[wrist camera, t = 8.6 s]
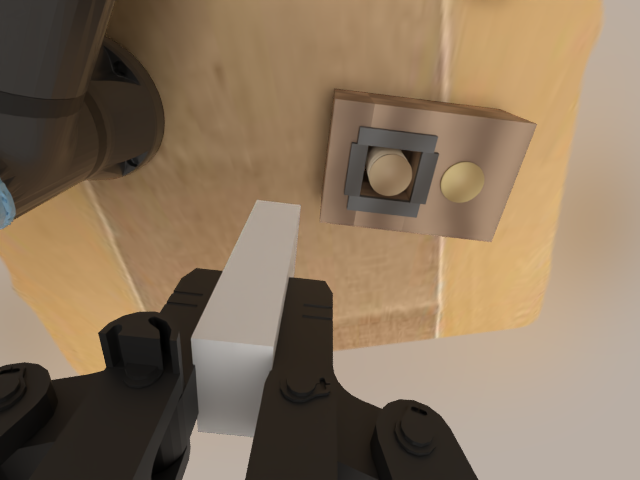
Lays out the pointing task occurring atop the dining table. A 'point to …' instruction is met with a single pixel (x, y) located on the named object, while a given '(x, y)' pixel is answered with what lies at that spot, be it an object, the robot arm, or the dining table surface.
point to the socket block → (423, 164)
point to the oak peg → (387, 170)
